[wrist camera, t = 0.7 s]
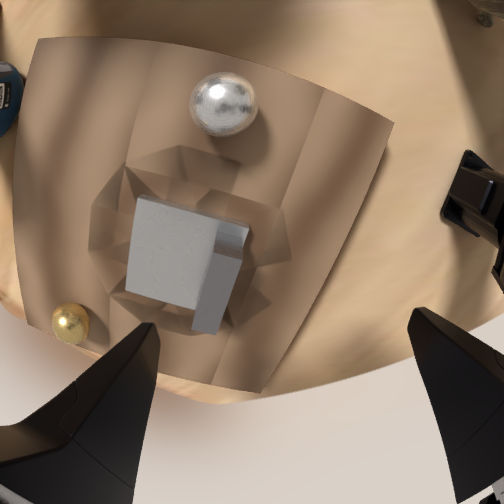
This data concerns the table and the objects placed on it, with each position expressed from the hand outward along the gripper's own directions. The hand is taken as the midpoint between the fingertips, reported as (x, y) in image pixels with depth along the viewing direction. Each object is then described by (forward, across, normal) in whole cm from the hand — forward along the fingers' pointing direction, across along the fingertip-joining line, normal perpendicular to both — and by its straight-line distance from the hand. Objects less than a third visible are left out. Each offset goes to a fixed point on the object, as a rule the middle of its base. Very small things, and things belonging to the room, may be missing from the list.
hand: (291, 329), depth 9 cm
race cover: (+10, +6, +2) cm, 12 cm away
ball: (+8, +2, -7) cm, 11 cm away
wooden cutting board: (+12, +7, +2) cm, 14 cm away
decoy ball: (+8, +16, +7) cm, 19 cm away
